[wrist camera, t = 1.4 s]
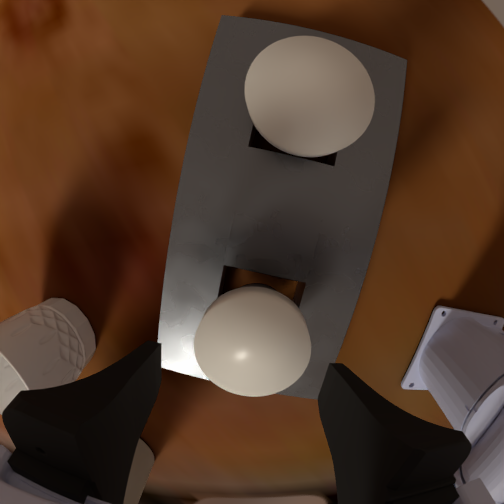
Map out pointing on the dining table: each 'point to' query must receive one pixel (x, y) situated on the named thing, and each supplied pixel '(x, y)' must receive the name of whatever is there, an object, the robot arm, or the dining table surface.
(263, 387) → the knob
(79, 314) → the white cup
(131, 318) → the dining table surface
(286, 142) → the knob
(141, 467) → the travel mug
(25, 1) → the dining table surface
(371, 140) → the knob mount
